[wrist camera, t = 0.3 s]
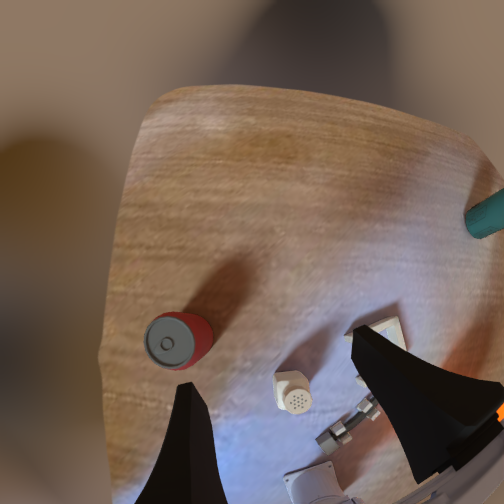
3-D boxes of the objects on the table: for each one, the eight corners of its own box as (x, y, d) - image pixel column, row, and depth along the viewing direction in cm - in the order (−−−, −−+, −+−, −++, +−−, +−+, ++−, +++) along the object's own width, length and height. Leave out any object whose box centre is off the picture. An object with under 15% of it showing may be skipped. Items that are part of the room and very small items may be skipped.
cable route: (395, 379, 37) (402, 381, 35) (325, 451, 34) (329, 457, 32) (384, 368, 38) (391, 370, 35) (312, 441, 35) (316, 447, 32)
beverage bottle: (475, 248, 42) (548, 216, 23) (456, 226, 43) (527, 184, 24) (483, 226, 44) (549, 190, 24) (464, 204, 45) (529, 160, 25)
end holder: (400, 362, 38) (409, 364, 35) (356, 383, 37) (364, 387, 34) (388, 316, 39) (397, 316, 37) (343, 335, 39) (350, 336, 36)
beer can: (160, 331, 39) (127, 334, 27) (195, 304, 40) (174, 297, 28) (187, 367, 37) (164, 385, 26) (223, 341, 38) (213, 350, 27)
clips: (397, 382, 37) (403, 385, 35) (343, 444, 35) (348, 449, 32) (381, 368, 38) (387, 370, 35) (325, 431, 35) (329, 436, 33)
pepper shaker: (273, 398, 37) (281, 419, 27) (271, 372, 37) (279, 387, 28) (301, 394, 37) (316, 414, 27) (299, 369, 38) (315, 382, 28)
